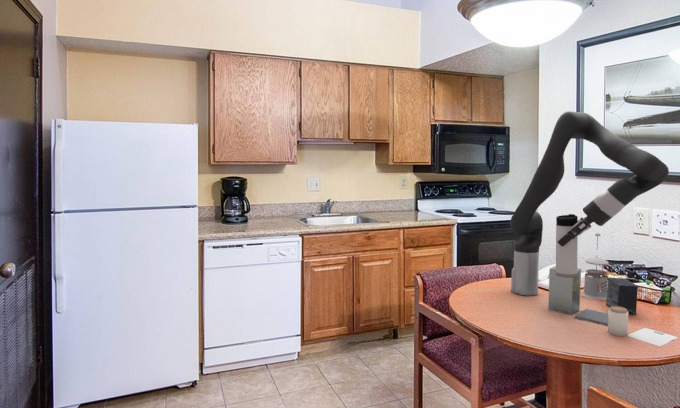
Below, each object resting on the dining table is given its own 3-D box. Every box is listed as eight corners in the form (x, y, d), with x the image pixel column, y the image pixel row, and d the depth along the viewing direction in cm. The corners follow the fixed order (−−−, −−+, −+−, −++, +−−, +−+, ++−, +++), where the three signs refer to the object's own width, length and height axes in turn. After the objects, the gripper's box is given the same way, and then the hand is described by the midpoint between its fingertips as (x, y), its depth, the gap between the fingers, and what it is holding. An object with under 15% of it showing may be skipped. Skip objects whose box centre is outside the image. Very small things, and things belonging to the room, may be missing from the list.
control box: (547, 308, 160) (548, 268, 159) (555, 304, 165) (556, 264, 163) (572, 314, 154) (573, 272, 152) (580, 310, 158) (581, 269, 157)
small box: (637, 315, 152) (639, 285, 151) (616, 314, 154) (618, 285, 153) (624, 305, 163) (626, 277, 162) (605, 304, 164) (606, 277, 163)
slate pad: (574, 317, 151) (574, 315, 151) (586, 310, 157) (586, 308, 157) (607, 325, 143) (607, 323, 143) (617, 318, 150) (618, 315, 150)
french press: (576, 294, 176) (578, 232, 173) (591, 289, 182) (594, 229, 180) (601, 301, 168) (604, 236, 165) (617, 295, 174) (620, 232, 171)
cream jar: (605, 332, 138) (606, 308, 137) (610, 328, 141) (612, 304, 141) (624, 337, 134) (625, 312, 133) (629, 332, 138) (630, 308, 137)
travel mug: (581, 275, 145) (582, 214, 143) (570, 278, 141) (571, 216, 140) (563, 272, 150) (563, 213, 148) (551, 275, 146) (552, 215, 145)
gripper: (596, 197, 145) (556, 231, 153) (591, 200, 133) (548, 237, 141) (614, 214, 143) (573, 247, 150) (612, 219, 131) (567, 255, 138)
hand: (561, 242), depth 146 cm, fingers closed on travel mug, 6 cm apart
